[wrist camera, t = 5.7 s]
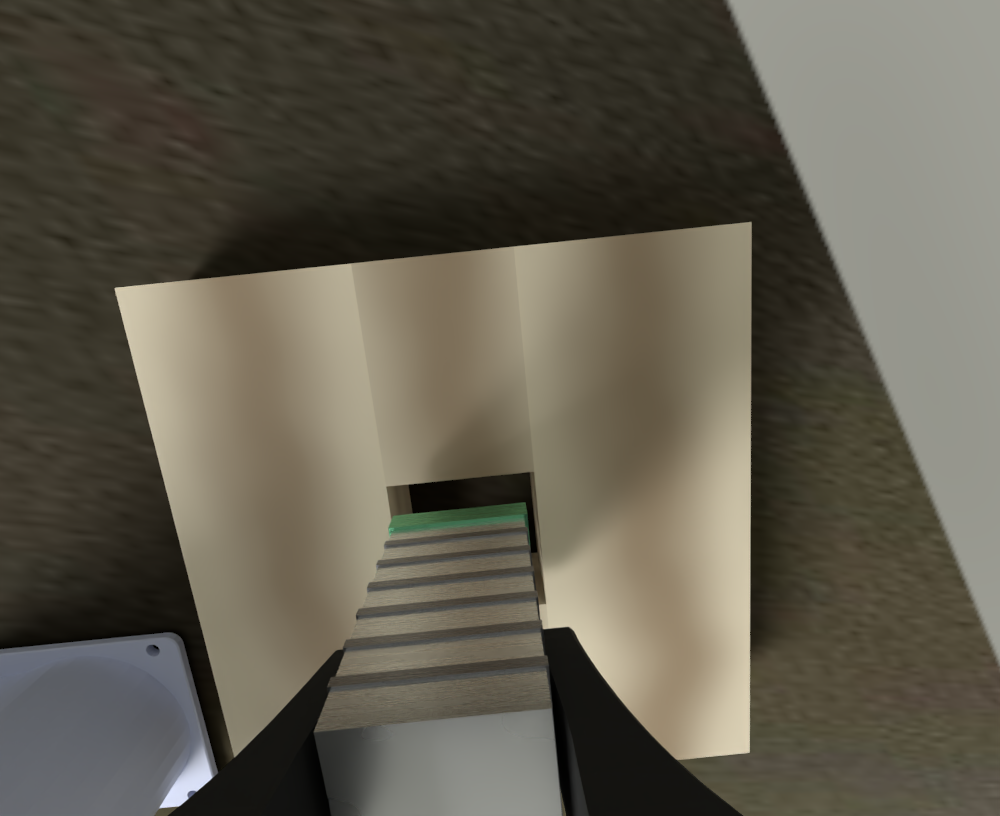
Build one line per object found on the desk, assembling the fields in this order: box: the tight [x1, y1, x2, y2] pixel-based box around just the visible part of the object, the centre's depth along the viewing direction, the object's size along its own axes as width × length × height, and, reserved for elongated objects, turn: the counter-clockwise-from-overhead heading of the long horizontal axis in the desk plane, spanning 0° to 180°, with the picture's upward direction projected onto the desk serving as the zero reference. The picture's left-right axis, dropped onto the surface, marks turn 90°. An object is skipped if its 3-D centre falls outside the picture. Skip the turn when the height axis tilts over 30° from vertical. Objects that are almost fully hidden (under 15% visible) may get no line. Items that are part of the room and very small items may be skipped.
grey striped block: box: [314, 502, 563, 816], centre depth 12 cm, size 4×4×8 cm
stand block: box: [115, 222, 752, 760], centre depth 19 cm, size 18×18×4 cm
